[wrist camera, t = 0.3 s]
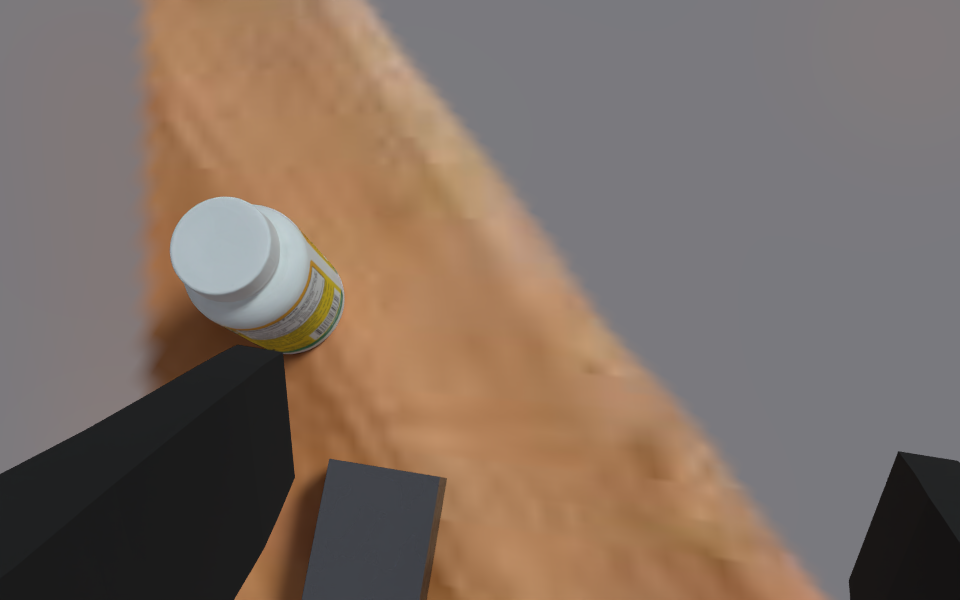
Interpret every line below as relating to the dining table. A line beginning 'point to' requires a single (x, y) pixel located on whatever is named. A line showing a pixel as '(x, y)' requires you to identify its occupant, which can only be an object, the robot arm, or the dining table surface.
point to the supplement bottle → (257, 274)
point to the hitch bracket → (374, 534)
